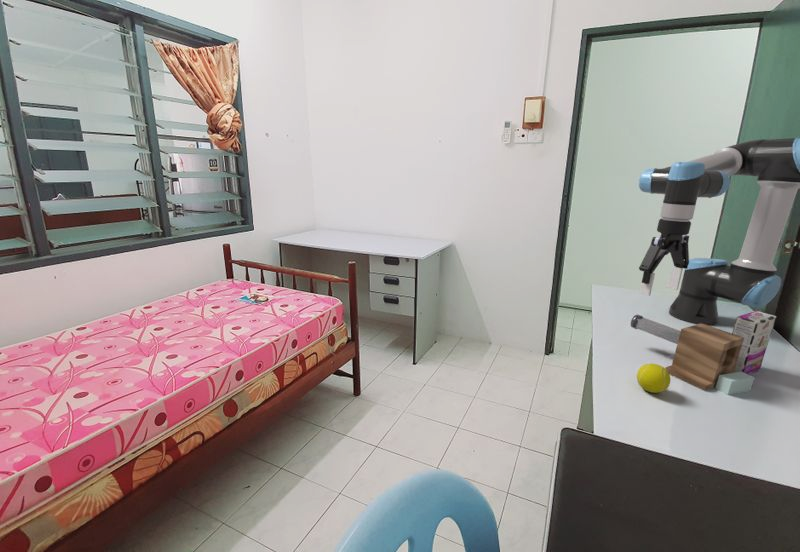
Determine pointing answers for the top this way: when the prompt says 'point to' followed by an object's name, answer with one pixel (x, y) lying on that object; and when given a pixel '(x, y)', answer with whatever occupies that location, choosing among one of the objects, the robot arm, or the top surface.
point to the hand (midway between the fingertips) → (658, 291)
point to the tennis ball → (653, 378)
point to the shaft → (655, 328)
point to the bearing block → (705, 355)
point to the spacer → (734, 383)
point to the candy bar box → (753, 339)
